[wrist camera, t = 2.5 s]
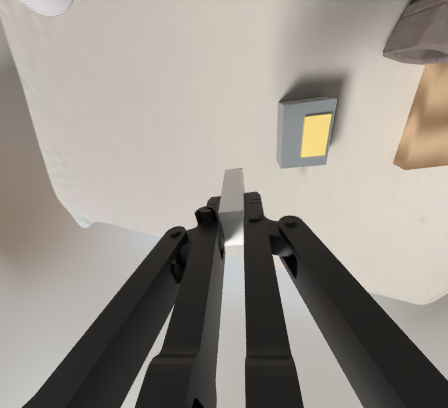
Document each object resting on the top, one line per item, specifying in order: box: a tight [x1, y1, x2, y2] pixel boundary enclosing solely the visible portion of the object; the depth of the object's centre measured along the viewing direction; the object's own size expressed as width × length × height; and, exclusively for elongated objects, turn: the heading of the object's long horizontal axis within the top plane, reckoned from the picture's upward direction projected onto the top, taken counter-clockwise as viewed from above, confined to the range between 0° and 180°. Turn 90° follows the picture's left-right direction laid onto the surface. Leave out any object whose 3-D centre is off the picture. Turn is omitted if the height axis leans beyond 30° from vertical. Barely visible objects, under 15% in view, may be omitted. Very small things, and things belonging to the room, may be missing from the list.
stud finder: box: [277, 96, 338, 168], centre depth 26 cm, size 8×6×4 cm
